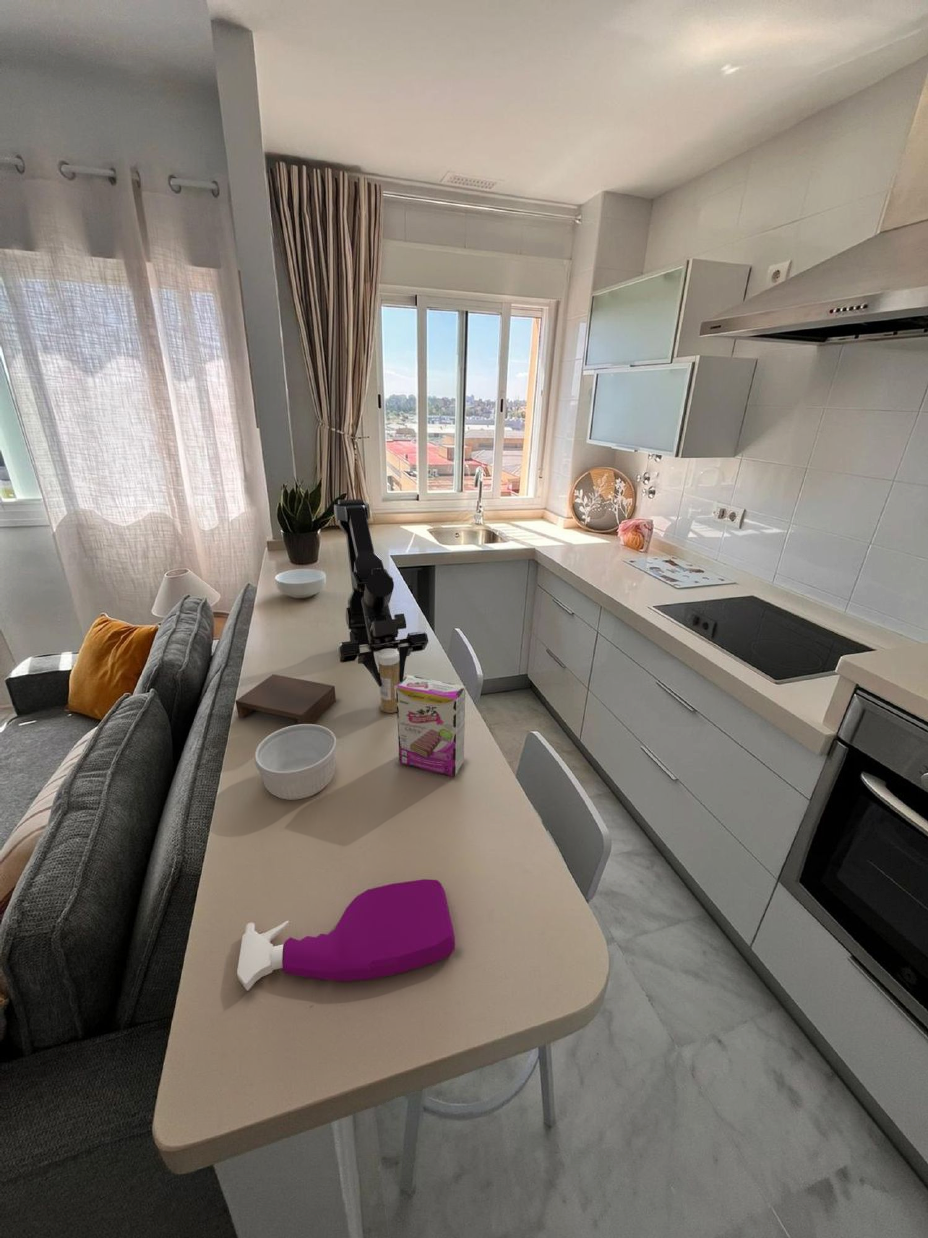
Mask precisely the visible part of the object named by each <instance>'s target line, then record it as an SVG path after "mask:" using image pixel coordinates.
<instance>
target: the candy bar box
mask: <svg viewBox="0 0 928 1238" xmlns="http://www.w3.org/2000/svg"><path fill="white" fill-rule="evenodd" d="M396 697H397V712H396V717H397V738H398V742H397V743H398V759H399V760H398V762H399V764H400V765H404V766H409V767H413V768H417V769H421V770H425V771H429V772H433V773H437V774H441V775H445V776H448V777H453V778H456V777H457V774H458V772H459V770H460V769H461V767H462V766H463V764H464V761H465V719H466V718H465V717H466V716H465V715H466V686H465V685H462V684H461V685H460V684H456V683H450V682H445V681H439V680H434V679H430V678H425V677H421V676H416V675H411V674H407V675H406V676H404V677H403V681H402V682H401V683H399V684H398V686H397V687H396Z"/></svg>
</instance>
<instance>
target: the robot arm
mask: <svg viewBox="0 0 928 1238" xmlns="http://www.w3.org/2000/svg"><path fill="white" fill-rule="evenodd" d="M370 507H371V506H370V503H368V502H364V500H363V498H351V499H338V500H337V504H333V513H334V519H335V520H337V524H338V527H339V528H340V530H341V531H342V532H343V533H344V534H345V538H346V546H347V547H346V549H347V555H348V564H349V572H350V580H351V581H350V583H351V589H352V591H351V593H350V595H349V597H348V599H347V606H348V607H346V609H345V622H346V626H347V628H348V630H350V631H349V640H348V641H341V642H340V643H339V645H338V658H339V663H341V664H344V663H351V662H355V661H356V660H357V664H359V665H363V666H364V667H365V668H366V669H367V671H368V672H369V673H370V675H371V676H372V678H373V679H374V681H375V683H376V684H377V686H378V687H379V688H380V687H381V686H382V684H381V678H380V675H379V667H378V664H377V662H376V657H375V653H378V652H379V651H380V650H383V649H388V648H390V649H395V650H397V651H398V652H399V675H400V683H401V682H402V681H403V680H404V678H405V668H406V661H407V658H408V657H409V656H410V655H411V654H412V653H415V652H422V651H424V650H425V649H426V648H427V645H428V644H429V637H428V634H427V633H426V632H425V631H424V630H419V631H413V632H408V633H407V636H406V638H401V639H400V638H399V639H397V638H398V636H399V634H400V633H399V630H404V629H407V620H406V616H405V613H397V614H394V616H393V617H392V614H391V609H390V605H389V604H390V603H391V600H392V599H391V598H392V596H393V593H394V588H395V582H394V578H393V576H392V575H391V574H390V573H389V572H388V569H386V568H385V567H384V564H383V560H382V559H381V558H380V557H379V556H378V555H377V554H376V553H375V548H374V545H373V544H374V543H373V540H372V539H373V538H372V535H371V531H370V526H369V522H368V520H369V519H371V509H370Z"/></svg>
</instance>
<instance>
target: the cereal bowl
mask: <svg viewBox="0 0 928 1238" xmlns="http://www.w3.org/2000/svg"><path fill="white" fill-rule="evenodd" d="M274 582H275V586H276V589H277V590H278V591H279V592H280V593H281V594H283V595H285V596H289V597H291V598H293V599H307V598H310V597H313V596H314V595H315V594H318V593H320V592H321V591H322V590H324V588H325V586H326V583H327V577H326V573H325V572H324V571H322V570H318V569H312V568H299V569H297V568H296V569H291V570H290V569H289V570H286V571H282V572H279V573H277V574H276V575H275V576H274Z"/></svg>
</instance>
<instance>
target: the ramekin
mask: <svg viewBox="0 0 928 1238" xmlns="http://www.w3.org/2000/svg"><path fill="white" fill-rule="evenodd" d="M337 750H338V743H337V738H336V735H335V733H334V732H333V731H332V730H331V729H329V728H327V727H325V726H323V725H320V724H315V723H313V724H299V725H298V724H294V725H293V724H292V725H289V726H286V727H283V728H280V729H278V730H276V731H274V732H272V733H269V735H267V736H266V737H265V738H264V739H262V740H261V741H260V743H259V744H258V745H257V747H256V749H255V752H254V761H255V766H256V768H257V770H258V771H259V773H260V775H261V779H262V782H263V784H264V787H265V788H266V790H267V791H268V792H269V793H270V794H272V795H273V796H275V797H277V798H279V799H282V800H288V801H297V800H304V799H307V798H309V797H312V796H314V795H316V794H318V793H319V792H321V791H322V790H323V789H325V788H326V787H327V785H329V784H330V782H331V781H332V779H333V777H334V775H335V772H336V760H337V759H336V758H337V757H336V756H337Z"/></svg>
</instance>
